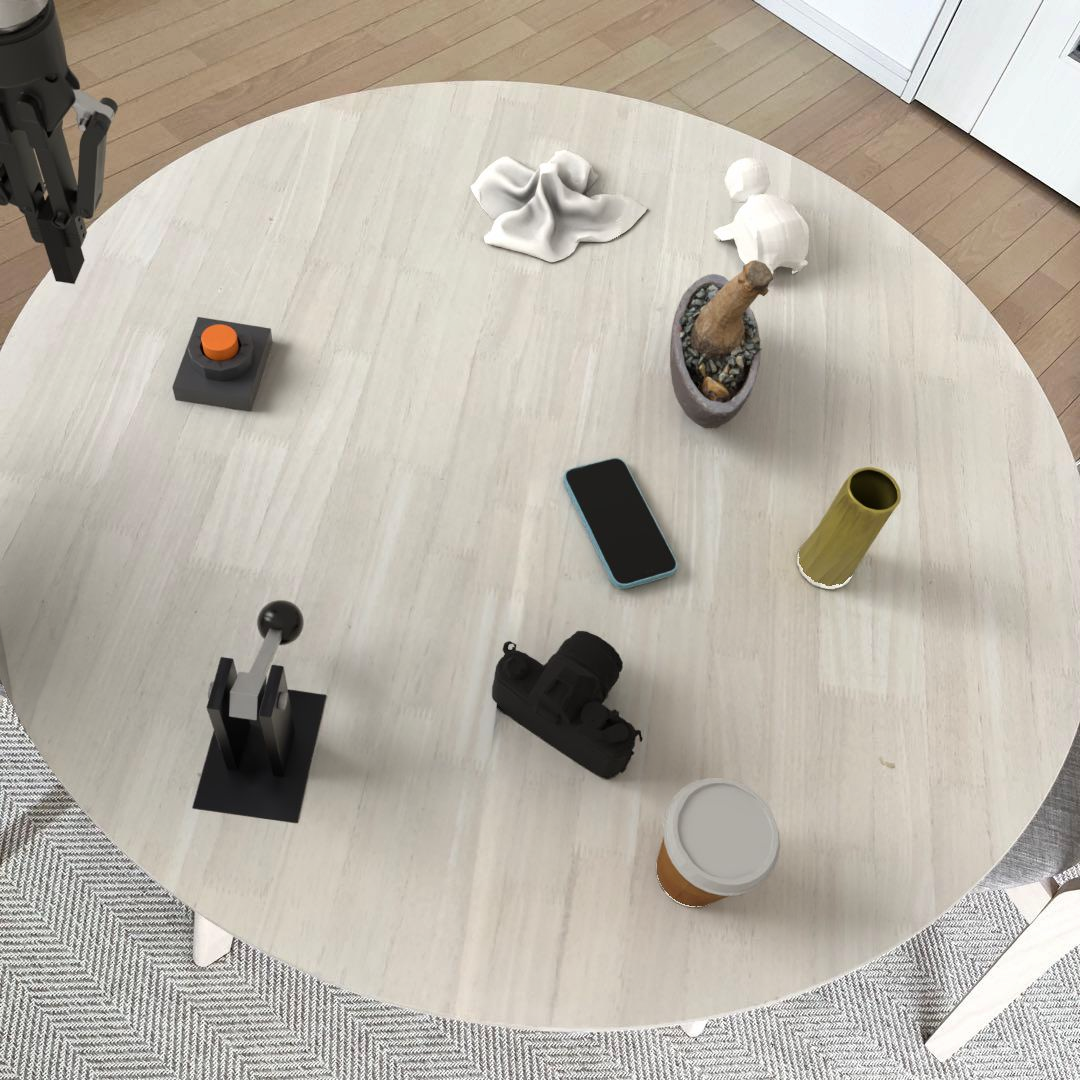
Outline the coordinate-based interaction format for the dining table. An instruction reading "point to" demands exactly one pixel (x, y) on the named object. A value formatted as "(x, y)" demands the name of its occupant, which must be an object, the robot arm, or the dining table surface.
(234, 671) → the bracket
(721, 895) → the disposable coffee cup
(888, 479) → the vase
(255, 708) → the lever
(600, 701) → the film camera
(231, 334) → the button
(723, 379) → the planter
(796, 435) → the dining table surface
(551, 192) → the cloth
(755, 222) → the white figurine
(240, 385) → the control block
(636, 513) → the smartphone
